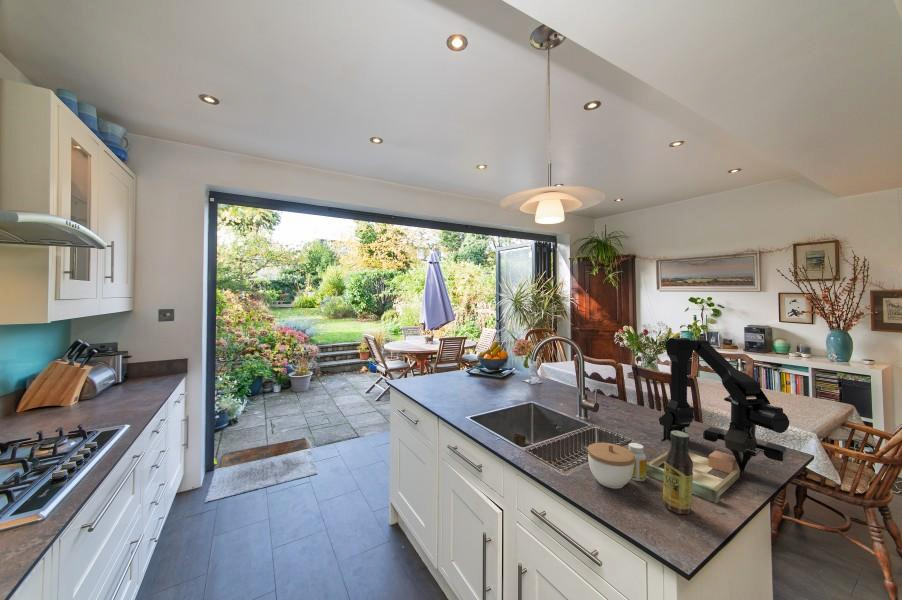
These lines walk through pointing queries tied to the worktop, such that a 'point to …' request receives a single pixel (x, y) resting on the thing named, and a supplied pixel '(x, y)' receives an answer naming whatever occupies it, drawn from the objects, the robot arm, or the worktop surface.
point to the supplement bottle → (638, 462)
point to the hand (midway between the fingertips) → (742, 470)
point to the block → (723, 462)
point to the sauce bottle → (678, 475)
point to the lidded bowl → (611, 464)
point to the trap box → (697, 477)
